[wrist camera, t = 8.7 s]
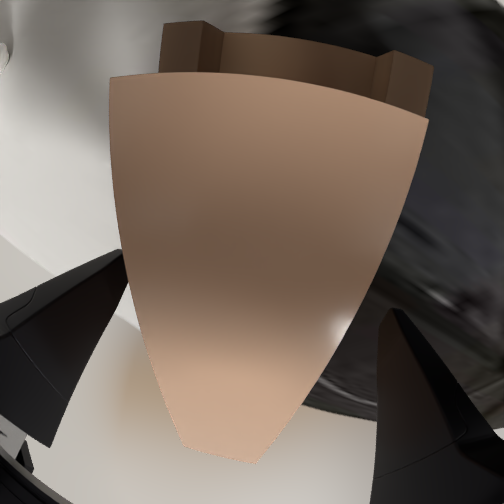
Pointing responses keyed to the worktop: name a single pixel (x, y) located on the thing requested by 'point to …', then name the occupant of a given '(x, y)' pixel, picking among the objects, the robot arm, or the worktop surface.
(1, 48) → the lightbulb
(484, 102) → the worktop surface
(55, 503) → the robot arm
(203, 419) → the tan rectangular block
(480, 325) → the worktop surface
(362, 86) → the track
